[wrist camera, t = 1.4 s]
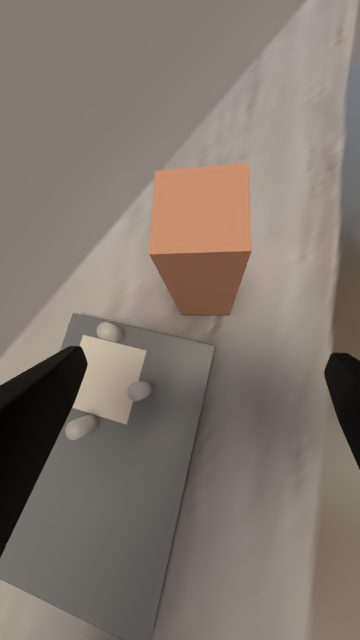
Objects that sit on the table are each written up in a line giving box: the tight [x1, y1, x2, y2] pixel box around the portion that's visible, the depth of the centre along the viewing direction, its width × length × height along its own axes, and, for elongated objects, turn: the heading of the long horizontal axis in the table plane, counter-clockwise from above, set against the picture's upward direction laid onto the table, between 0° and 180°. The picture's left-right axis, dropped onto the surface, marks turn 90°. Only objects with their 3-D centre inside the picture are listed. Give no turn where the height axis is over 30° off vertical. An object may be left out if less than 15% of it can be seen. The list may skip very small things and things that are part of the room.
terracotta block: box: [149, 163, 251, 315], centre depth 16 cm, size 4×4×12 cm
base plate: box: [0, 313, 215, 640], centre depth 18 cm, size 22×14×4 cm, turn 166°
